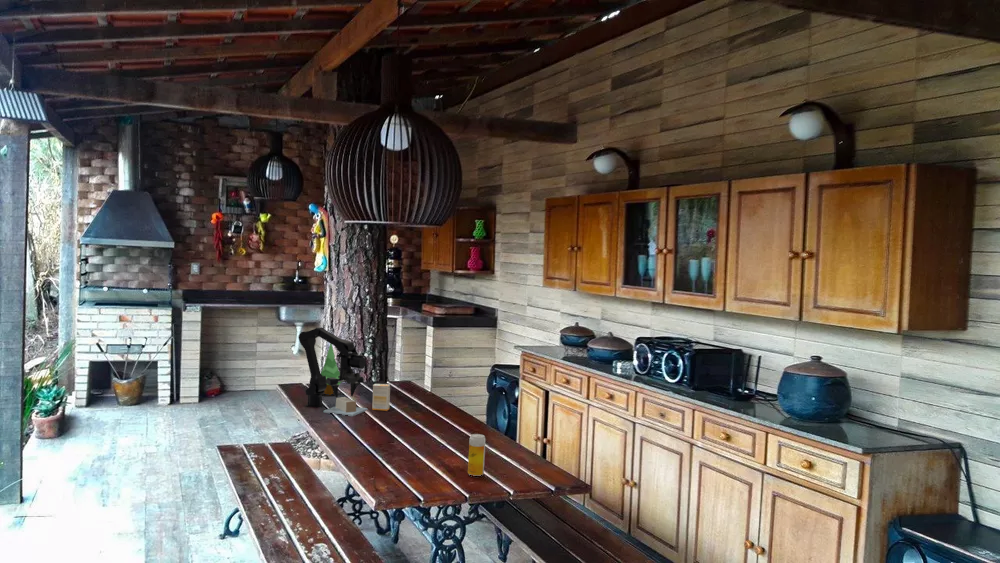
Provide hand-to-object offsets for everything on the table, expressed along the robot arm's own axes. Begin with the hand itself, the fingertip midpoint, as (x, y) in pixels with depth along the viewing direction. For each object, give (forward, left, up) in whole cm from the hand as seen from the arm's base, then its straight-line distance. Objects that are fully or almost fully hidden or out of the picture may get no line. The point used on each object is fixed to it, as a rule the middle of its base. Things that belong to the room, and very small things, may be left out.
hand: (344, 397), depth 368 cm
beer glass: (+96, -69, -7) cm, 118 cm away
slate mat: (+2, -1, -7) cm, 7 cm away
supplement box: (+15, +12, -7) cm, 20 cm away
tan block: (-3, +2, -4) cm, 5 cm away
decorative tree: (-27, +31, -7) cm, 42 cm away
